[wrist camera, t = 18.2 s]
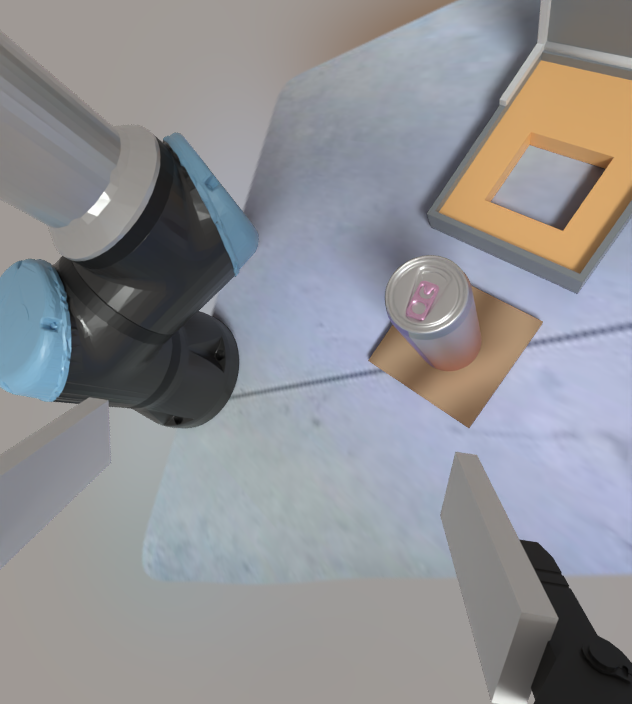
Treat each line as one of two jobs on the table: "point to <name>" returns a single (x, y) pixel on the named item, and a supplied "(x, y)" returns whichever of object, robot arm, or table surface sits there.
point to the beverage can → (435, 311)
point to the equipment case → (554, 144)
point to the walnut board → (473, 380)
